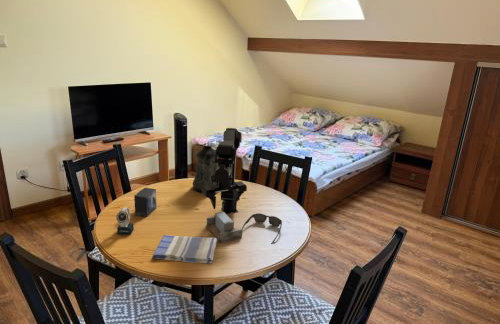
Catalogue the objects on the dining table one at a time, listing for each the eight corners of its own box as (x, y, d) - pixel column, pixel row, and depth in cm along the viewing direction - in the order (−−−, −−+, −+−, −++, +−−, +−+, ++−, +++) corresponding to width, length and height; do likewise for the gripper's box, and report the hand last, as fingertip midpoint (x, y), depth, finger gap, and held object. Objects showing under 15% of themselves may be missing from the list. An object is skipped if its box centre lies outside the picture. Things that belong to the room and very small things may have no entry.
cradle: (226, 221, 162) (227, 214, 161) (241, 237, 149) (242, 229, 148) (206, 225, 158) (206, 217, 156) (220, 242, 145) (220, 234, 143)
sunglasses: (284, 227, 160) (285, 218, 158) (274, 249, 146) (274, 239, 144) (251, 220, 166) (251, 211, 163) (238, 240, 151) (238, 230, 149)
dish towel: (212, 265, 130) (212, 259, 129) (150, 261, 131) (150, 254, 130) (219, 241, 147) (219, 235, 146) (164, 237, 148) (163, 231, 147)
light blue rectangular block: (223, 223, 159) (223, 211, 157) (233, 234, 149) (233, 222, 148) (214, 224, 157) (215, 213, 155) (224, 236, 148) (225, 224, 146)
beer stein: (212, 181, 210) (213, 141, 202) (229, 192, 195) (231, 150, 187) (187, 186, 200) (187, 144, 192) (203, 198, 185) (204, 154, 178)
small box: (147, 217, 162) (146, 197, 159) (134, 215, 163) (133, 195, 160) (157, 208, 172) (156, 188, 169) (145, 206, 173) (144, 187, 170)
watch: (116, 236, 145) (114, 213, 142) (122, 227, 153) (120, 204, 149) (129, 237, 145) (127, 213, 142) (135, 227, 153) (133, 205, 149)
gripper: (236, 165, 156) (235, 196, 161) (197, 169, 147) (197, 203, 152) (248, 173, 146) (246, 206, 151) (206, 178, 138) (206, 214, 143)
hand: (224, 207), depth 150 cm, fingers open, 9 cm apart
